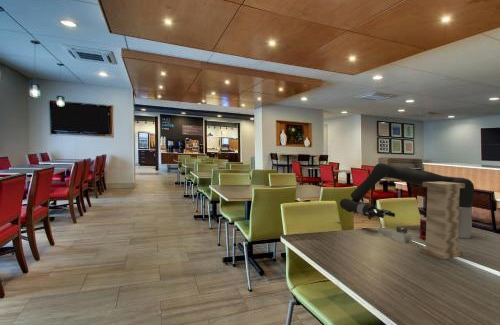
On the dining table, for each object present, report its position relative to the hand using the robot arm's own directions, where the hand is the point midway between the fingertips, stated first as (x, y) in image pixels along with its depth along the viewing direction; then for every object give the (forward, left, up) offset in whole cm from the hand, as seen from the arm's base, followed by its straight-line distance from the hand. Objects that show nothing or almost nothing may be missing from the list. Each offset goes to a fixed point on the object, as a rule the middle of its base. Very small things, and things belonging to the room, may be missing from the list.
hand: (389, 215), depth 152 cm
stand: (0, +29, -12) cm, 31 cm away
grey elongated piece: (0, +3, -12) cm, 12 cm away
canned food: (-17, +11, -12) cm, 23 cm away
